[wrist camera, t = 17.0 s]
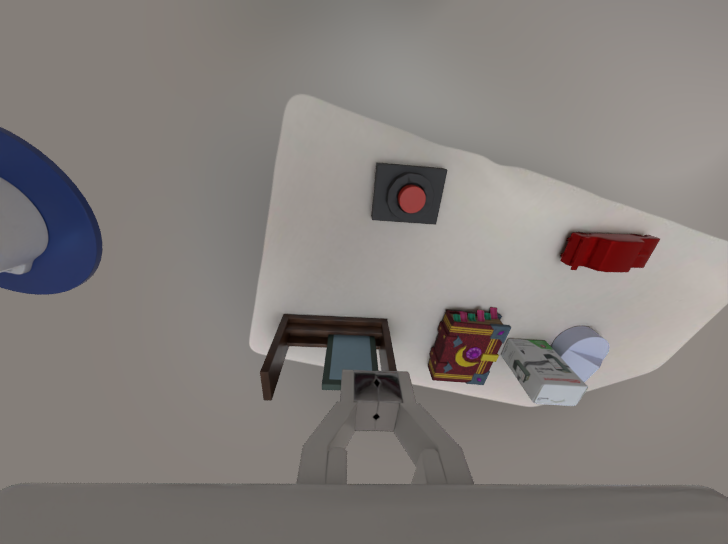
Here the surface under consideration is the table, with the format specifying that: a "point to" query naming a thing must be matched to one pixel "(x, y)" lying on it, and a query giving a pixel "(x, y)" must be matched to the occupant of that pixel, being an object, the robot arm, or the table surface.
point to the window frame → (321, 341)
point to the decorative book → (467, 346)
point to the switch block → (399, 176)
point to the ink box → (543, 373)
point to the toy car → (608, 251)
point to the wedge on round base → (581, 350)
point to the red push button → (411, 198)
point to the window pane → (347, 357)
